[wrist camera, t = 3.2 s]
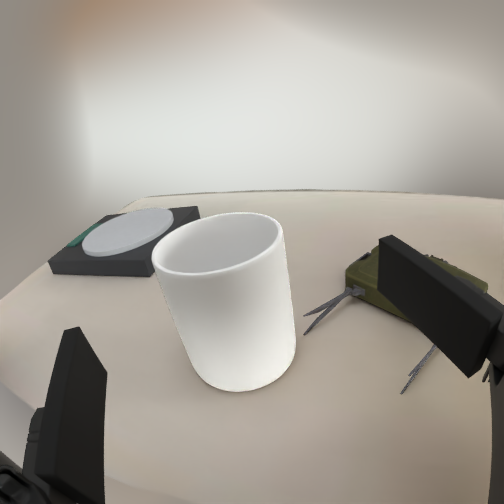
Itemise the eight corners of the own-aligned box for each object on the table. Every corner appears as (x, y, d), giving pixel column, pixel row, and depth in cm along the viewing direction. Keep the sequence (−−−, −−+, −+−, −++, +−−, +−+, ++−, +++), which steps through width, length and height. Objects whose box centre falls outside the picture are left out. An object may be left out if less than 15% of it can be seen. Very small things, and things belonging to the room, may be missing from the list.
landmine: (500, 272, 22) (437, 385, 15) (494, 295, 24) (427, 409, 17) (382, 231, 33) (282, 299, 26) (381, 252, 34) (285, 323, 27)
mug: (172, 320, 30) (137, 223, 25) (249, 290, 32) (229, 192, 28) (215, 413, 20) (164, 294, 15) (317, 363, 22) (309, 238, 18)
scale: (53, 273, 44) (45, 256, 42) (110, 226, 58) (105, 211, 57) (150, 276, 38) (141, 254, 37) (200, 219, 52) (196, 201, 51)
